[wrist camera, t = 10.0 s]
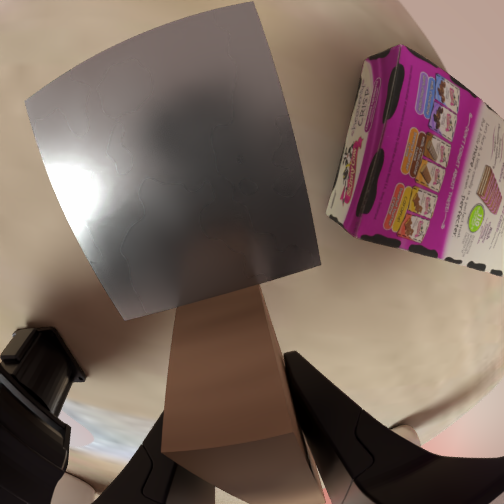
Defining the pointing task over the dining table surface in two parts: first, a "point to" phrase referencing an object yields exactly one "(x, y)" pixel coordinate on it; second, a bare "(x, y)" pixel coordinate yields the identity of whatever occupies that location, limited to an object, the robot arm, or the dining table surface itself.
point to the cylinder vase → (72, 491)
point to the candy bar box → (422, 165)
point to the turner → (194, 230)
